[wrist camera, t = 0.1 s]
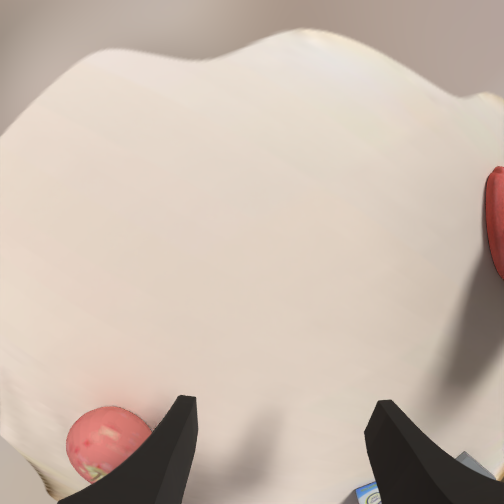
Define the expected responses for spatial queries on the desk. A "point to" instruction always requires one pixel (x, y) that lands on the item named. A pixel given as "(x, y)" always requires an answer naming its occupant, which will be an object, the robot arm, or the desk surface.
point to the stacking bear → (496, 217)
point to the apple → (104, 441)
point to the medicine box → (368, 494)
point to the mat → (473, 465)
